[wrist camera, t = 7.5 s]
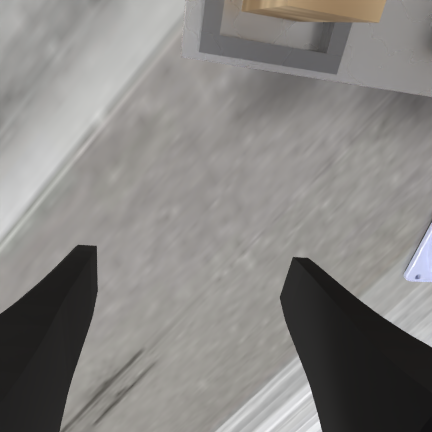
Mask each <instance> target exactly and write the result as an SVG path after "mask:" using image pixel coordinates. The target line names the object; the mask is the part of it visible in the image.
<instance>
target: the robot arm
mask: <svg viewBox="0 0 432 432" xmlns="http://www.w3.org/2000/svg"><path fill="white" fill-rule="evenodd" d="M404 277H405V279H406V280H407V281H418V282H432V223H431V225H430V227H429V229H428V230H427V232H426V234H425V236H424V238H423V240H422V242H421V243H420V245H419V247H418V249H417V251H416V253H415V255H414V256H413V258H412V260H411V262H410V264H409V266H408V267H407V269H406V271H405V273H404ZM97 292H98V286H97V246H88V245H77V246H76V247H75V248H74V249H73V250H72V251H71V252H70V253H69V254H68V255H67V256H66V257H65V258H64V259H63V260H62V261H61V262H60V263H59V264H58V265H57V266H56V267H55V268H54V269H53V270H52V271H51V272H50V273H49V274H48V275H47V276H46V277H45V278H44V279H42V280H41V281H40V282H39V283H38V284H37V285H36V286H35V287H34V288H32V289H31V290H30V291H29V292H28V293H26V294H25V295H24V296H23V297H22V298H20V299H19V300H18V301H17V302H15V303H14V304H13V305H12V306H10V307H9V308H8V309H6V310H5V311H4V312H2V313H1V314H0V432H59V431H60V426H61V421H62V417H63V413H64V408H65V404H66V400H67V395H68V391H69V387H70V384H71V380H72V377H73V374H74V371H75V368H76V365H77V362H78V359H79V356H80V353H81V350H82V347H83V344H84V341H85V338H86V335H87V332H88V329H89V326H90V323H91V320H92V316H93V312H94V307H95V302H96V297H97ZM280 300H281V305H282V309H283V313H284V317H285V321H286V324H287V327H288V329H289V332H290V335H291V337H292V340H293V342H294V345H295V347H296V350H297V353H298V355H299V358H300V360H301V363H302V365H303V368H304V370H305V373H306V376H307V378H308V381H309V384H310V387H311V391H312V394H313V398H314V401H315V405H316V409H317V412H318V416H319V420H320V424H321V428H322V432H432V347H430V346H429V345H427V344H425V343H423V342H422V341H420V340H418V339H416V338H414V337H413V336H411V335H409V334H408V333H406V332H404V331H403V330H401V329H400V328H398V327H397V326H395V325H394V324H392V323H391V322H389V321H388V320H386V319H385V318H383V317H382V316H380V315H379V314H377V313H376V312H375V311H373V310H372V309H371V308H369V307H368V306H367V305H365V304H364V303H363V302H361V301H360V300H359V299H357V298H356V297H355V296H354V295H352V294H351V293H350V292H349V291H348V290H346V289H345V288H344V287H343V286H341V285H340V284H339V283H338V282H337V281H336V280H334V279H333V278H332V277H331V276H330V275H328V274H327V273H326V272H325V271H324V270H323V269H321V268H320V267H319V266H318V265H316V264H315V263H314V262H313V261H311V260H310V259H309V258H299V257H293V259H292V262H291V265H290V268H289V271H288V274H287V277H286V280H285V283H284V286H283V289H282V292H281V295H280Z"/></svg>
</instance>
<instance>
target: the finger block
mask: <svg viewBox="0 0 432 432" xmlns="http://www.w3.org/2000/svg"><path fill="white" fill-rule="evenodd" d="M385 3H386V0H243V3H242V9H241V11H242V12H248V13H253V14H259V15H264V16H270V17H275V18H281V19H286V20H292V21H298V22H364V23H379V21H380V18H381V15H382V12H383V9H384V6H385Z"/></svg>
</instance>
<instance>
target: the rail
mask: <svg viewBox="0 0 432 432" xmlns="http://www.w3.org/2000/svg"><path fill="white" fill-rule="evenodd" d="M242 3H243V0H185V11H184V22H183V32H182V43H181V54H180V55H181V57H184V58H190V59H196V60H203V61H209V62H215V63H221V64H228V65H234V66H240V67H247V68H253V69H259V70H265V71H272V72H278V73H284V74H291V75H297V76H303V77H309V78H316V79H322V80H328V81H335V82H341V83H347V84H353V85H360V86H366V87H372V88H379V89H385V90H391V91H397V92H404V93H410V94H416V95H423V96H429V97H432V0H386V3H385V6H384V9H383V12H382V15H381V18H380V21H379V23H364V22H298V21H292V20H286V19H281V18H275V17H270V16H264V15H259V14H253V13H248V12H242V11H241V9H242Z"/></svg>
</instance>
